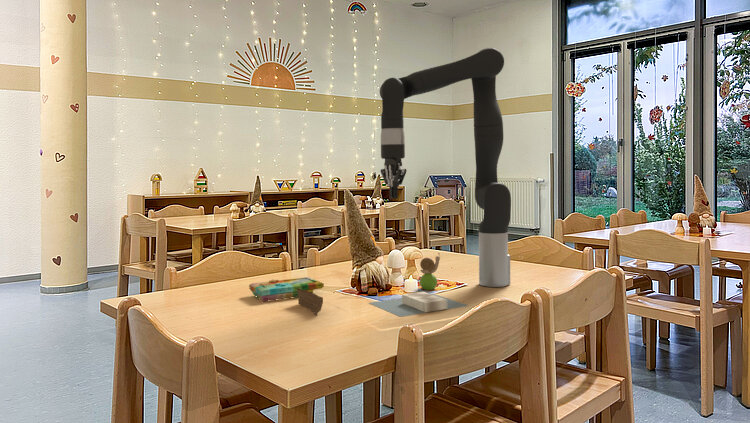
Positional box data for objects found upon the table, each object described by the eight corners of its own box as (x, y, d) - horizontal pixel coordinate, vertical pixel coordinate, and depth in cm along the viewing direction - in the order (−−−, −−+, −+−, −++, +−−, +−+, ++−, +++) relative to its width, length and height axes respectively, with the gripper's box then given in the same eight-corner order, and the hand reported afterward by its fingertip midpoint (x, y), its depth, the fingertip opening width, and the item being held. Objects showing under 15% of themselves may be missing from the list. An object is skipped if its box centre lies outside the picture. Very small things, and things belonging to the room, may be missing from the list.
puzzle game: (249, 281, 179) (308, 274, 189) (249, 296, 180) (309, 288, 190) (261, 288, 169) (323, 280, 179) (262, 304, 170) (324, 295, 179)
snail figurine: (439, 292, 178) (439, 254, 177) (418, 292, 180) (418, 253, 179) (441, 288, 184) (440, 251, 183) (421, 288, 185) (420, 251, 184)
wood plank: (293, 305, 166) (293, 288, 166) (300, 304, 167) (299, 287, 167) (317, 316, 153) (316, 298, 153) (324, 315, 154) (323, 297, 154)
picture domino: (422, 291, 166) (447, 299, 155) (423, 300, 166) (447, 309, 155) (401, 294, 162) (425, 303, 152) (402, 303, 163) (425, 313, 152)
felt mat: (432, 295, 175) (432, 293, 175) (469, 307, 159) (468, 305, 159) (368, 304, 165) (368, 302, 165) (400, 318, 149) (400, 316, 149)
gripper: (413, 142, 177) (414, 198, 179) (392, 144, 189) (393, 197, 190) (392, 142, 174) (393, 200, 175) (372, 144, 185) (373, 198, 187)
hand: (393, 198), depth 183 cm, fingers closed
